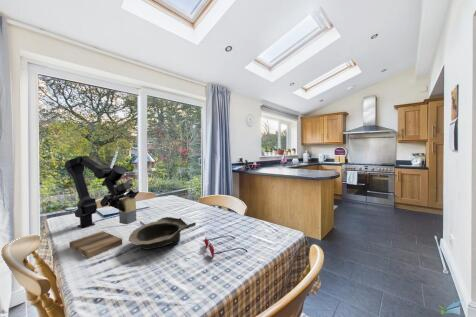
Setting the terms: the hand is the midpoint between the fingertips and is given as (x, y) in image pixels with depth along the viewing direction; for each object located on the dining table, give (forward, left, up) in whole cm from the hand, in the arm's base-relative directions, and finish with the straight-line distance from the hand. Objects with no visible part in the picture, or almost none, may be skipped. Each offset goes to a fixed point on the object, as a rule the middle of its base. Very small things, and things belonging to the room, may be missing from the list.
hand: (129, 209), depth 105 cm
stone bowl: (+20, +1, -14) cm, 25 cm away
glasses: (+50, +14, -14) cm, 53 cm away
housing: (-1, 0, -7) cm, 7 cm away
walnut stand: (-3, -15, -13) cm, 20 cm away
